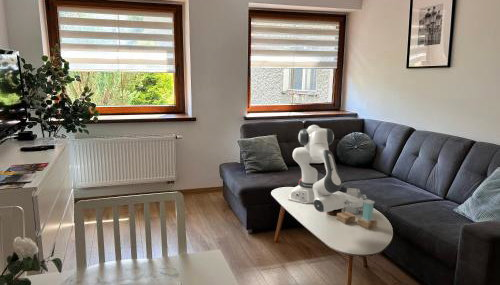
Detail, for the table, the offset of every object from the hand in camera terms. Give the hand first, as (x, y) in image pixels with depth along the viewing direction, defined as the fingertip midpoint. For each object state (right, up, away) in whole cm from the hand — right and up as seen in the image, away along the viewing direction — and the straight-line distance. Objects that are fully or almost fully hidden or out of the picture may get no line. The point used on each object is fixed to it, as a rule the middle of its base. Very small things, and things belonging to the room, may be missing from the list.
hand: (355, 196), depth 215 cm
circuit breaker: (+10, -15, +33) cm, 38 cm away
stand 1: (-1, -18, +18) cm, 26 cm away
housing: (+10, -16, +10) cm, 21 cm away
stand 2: (+10, -20, +11) cm, 24 cm away
